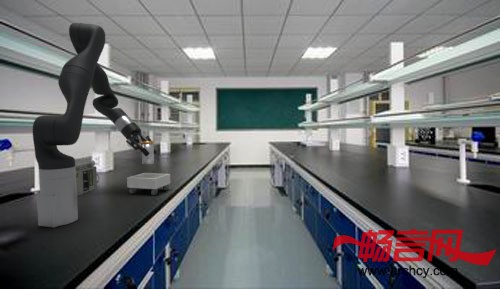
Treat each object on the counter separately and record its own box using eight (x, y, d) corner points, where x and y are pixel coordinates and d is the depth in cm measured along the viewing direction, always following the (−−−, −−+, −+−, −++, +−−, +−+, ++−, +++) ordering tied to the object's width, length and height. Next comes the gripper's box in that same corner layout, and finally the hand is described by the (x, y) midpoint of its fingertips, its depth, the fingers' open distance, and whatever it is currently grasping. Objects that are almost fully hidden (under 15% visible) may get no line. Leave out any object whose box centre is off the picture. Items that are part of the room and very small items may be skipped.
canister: (149, 164, 117) (149, 141, 116) (139, 163, 118) (139, 141, 117) (156, 162, 121) (155, 141, 121) (146, 162, 123) (146, 140, 122)
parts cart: (155, 196, 113) (155, 178, 112) (127, 194, 116) (127, 177, 116) (170, 189, 124) (170, 174, 124) (144, 188, 128) (144, 172, 127)
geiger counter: (69, 166, 108) (104, 158, 132) (54, 165, 108) (92, 158, 133) (71, 199, 108) (105, 185, 133) (56, 199, 109) (93, 185, 134)
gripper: (121, 121, 113) (146, 150, 111) (142, 122, 127) (165, 147, 125) (111, 133, 115) (136, 162, 113) (133, 132, 129) (156, 158, 127)
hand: (151, 154), depth 119 cm, fingers closed on canister, 5 cm apart
